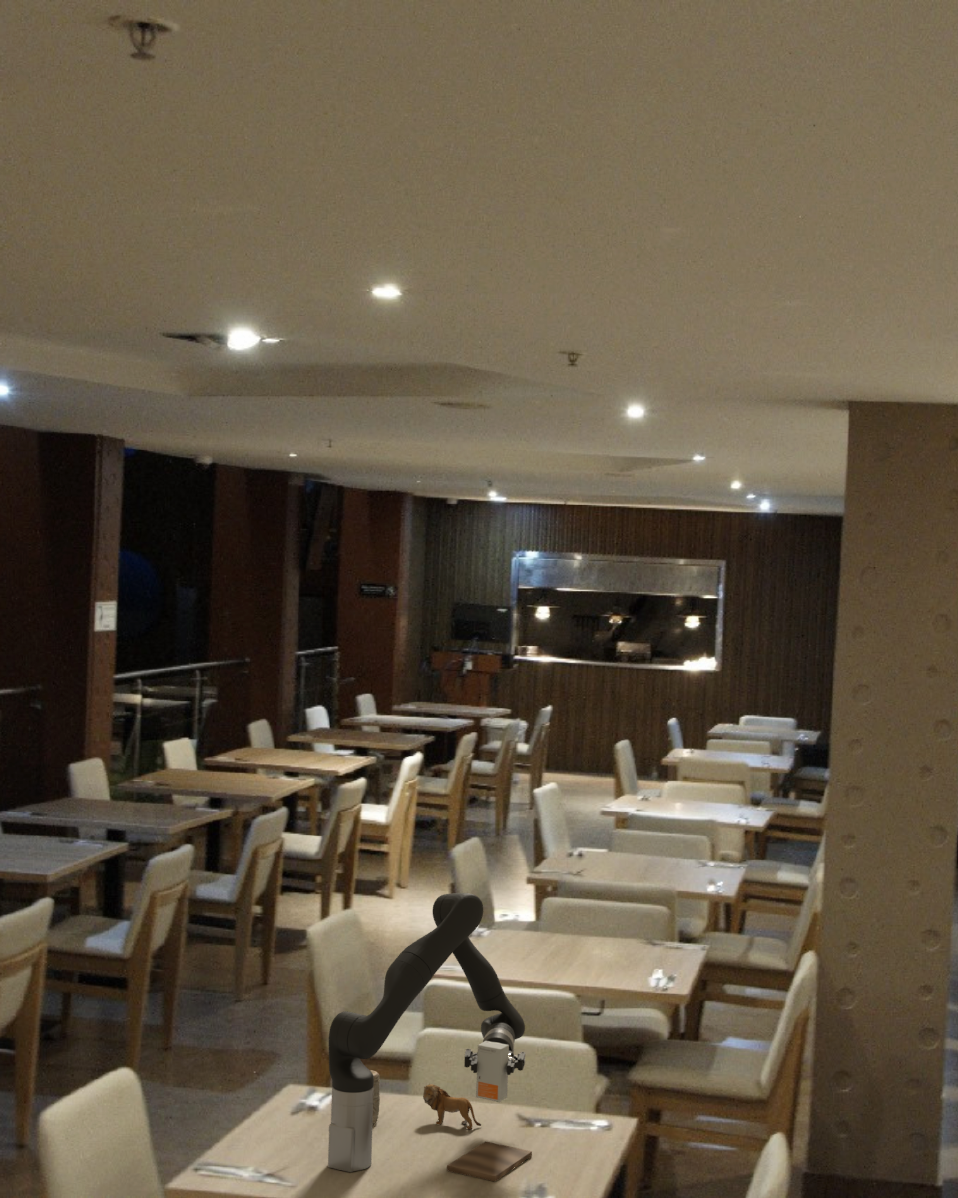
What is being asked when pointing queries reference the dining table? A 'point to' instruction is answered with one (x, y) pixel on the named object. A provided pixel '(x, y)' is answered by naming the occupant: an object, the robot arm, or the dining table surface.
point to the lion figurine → (448, 1104)
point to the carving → (375, 1096)
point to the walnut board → (489, 1161)
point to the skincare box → (492, 1071)
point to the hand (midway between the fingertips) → (492, 1069)
